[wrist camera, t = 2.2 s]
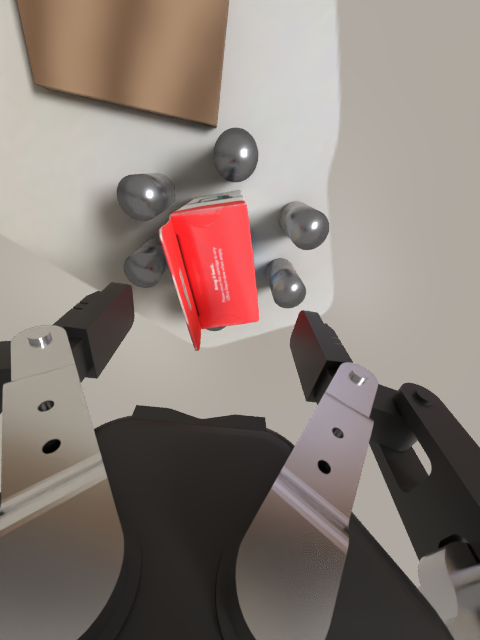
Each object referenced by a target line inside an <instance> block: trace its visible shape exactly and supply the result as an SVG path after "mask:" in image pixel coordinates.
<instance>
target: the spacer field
mask: <svg viewBox="0 0 480 640" xmlns="http://www.w3.org/2000/svg"><path fill="white" fill-rule="evenodd" d="M214 162H215V165H216V168H217V170H218V172H219V173H220V174H221V175H222V176H223V177H224V178H225V179H227V180H229V181H232V182H241V181H244V180H246V179H247V178H248V177H250V176H251V174H252V173H253V172H254V170H255V168H256V165H257V162H258V149H257V145H256V142H255V140H254V139H253V137H252V136H251V135H250V134H249V133H248V132H247V131H246V130H244V129H241V128H230V129H228V130H226V131H224V132H223V133H222V134H221V135H220V136H219V138H218V139H217V141H216V144H215V147H214ZM175 197H176V193H175V188H174V186H173V184H172V182H171V181H170V180H169V179H168V178H167V177H166V176H164V175H162V174H158V173H153V174H135V175H128V176H126V177H124V178H123V179H122V180H121V181H120V182H119V184H118V188H117V198H118V201H119V204H120V206H121V208H122V209H123V210H124V212H125V213H126V214H127V215H129V216H130V217H132V218H133V219H136V220H139V221H147V220H150V219H152V218H153V217H155V216H157V215H158V214H160V213H162V212H163V211H165V210H167V209H168V208H170V207H171V206H172V205H173V203H174V201H175ZM279 222H280V226H281V228H282V229H283V231H284V232H285V233H286V234H287V235H288V237H289V238H290V239H291V240H292V242H293V243H294V244H295V245H296V246H297V247H298V248H300V249H303V250H311V249H314V248H316V247H318V246H319V245H321V244H322V243H323V242H324V240H325V239H326V237H327V235H328V232H329V222H328V219H327V217H326V216H325V215H324V214H323V213H322V212H320V211H318V210H316V209H314V208H312V207H310V206H308V205H306V204H304V203H301V202H291V203H289V204H287V205H286V206H285V207H284V208H283V210H282V211H281V214H280V218H279ZM167 267H168V263H167V260H166V257H165V254H164V250H163V248H162V244H161V241H160V238H159V237H155V238H151V239H150V240H148V241H147V242H146V243H145V244H144V245H142V246H141V247H140V248H139V249H138V250H136V251H135V252H134V253H133V254H132V255H131V256H129V257H128V258H127V259H126V261H125V263H124V272H125V274H126V276H127V278H128V279H129V280H130V281H131V282H132V283H133V284H135V285H137V286H140V287H152V286H154V285H155V284H156V283H157V282H158V281H159V279H160V278H161V276H162V275H163V273H164V272H165V270H166V269H167ZM266 275H267V279H268V282H269V285H270V288H271V292H272V295H273V298H274V301H275V303H276V304H277V305H278V306H280V307H283V308H293V307H295V306H297V305H299V304H300V303H301V302H302V301H303V300H304V298H305V295H306V288H305V286H304V284H303V282H302V281H301V279H300V278H299V276H298V274H297V273H296V271H295V269H294V268H293V266H292V264H291V263H290V262H289V261H288V260H286V259H282V258H279V259H275V260H273V261H272V262H271V263H270V264H269V265H268V267H267V269H266ZM225 327H226V326H222V327H213V328H206V329H207V330H210V331H218V330H221V329H223V328H225Z"/></svg>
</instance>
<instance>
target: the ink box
mask: <svg viewBox="0 0 480 640" xmlns="http://www.w3.org/2000/svg"><path fill="white" fill-rule="evenodd" d="M159 238H160V241H161V244H162V248H163V250H164V254H165V257H166V260H167V263H168V267H169V270H170V273H171V276H172V280H173V282H174V286H175V289H176V292H177V295H178V298H179V302H180V305H181V308H182V311H183V314H184V317H185V320H186V324H187V327H188V330H189V333H190V336H191V339H192V342H193V345H194V348H195V350H196V351H199V348H200V338H201V329H206V328H213V327H222V326H231V325H239V324H245V323H252V322H257V321H259V311H258V299H257V289H256V278H255V268H254V259H253V249H252V242H251V234H250V225H249V218H248V211H247V205H246V203H245V201H244V198H243V195H242V192H241V190H237V191H231V192H226V193H221V194H215V195H209V196H204V197H198V198H194V199H193V200H192V201H190V202H189V203H187V204H185V205H184V206H183V207H181V208H180V209H178V210H176V211H174V212H172V213H170V215H169V221H168V222H167V223H166V224H165V225H163V226H162V227H161V228H160V229H159ZM183 288H184V292H183ZM184 293H185V296H186V298H185V296H184Z"/></svg>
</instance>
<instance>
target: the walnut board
mask: <svg viewBox="0 0 480 640" xmlns="http://www.w3.org/2000/svg"><path fill="white" fill-rule="evenodd" d="M17 3H18V7H19V12H20V17H21V21H22V26H23V31H24V36H25V40H26V45H27V50H28V54H29V59H30V64H31V68H32V73H33V78H34V82H35V84H37V85H40V86H42V87H44V88H48V89H52V90H56V91H61V92H65V93H69V94H74V95H78V96H83V97H87V98H91V99H96V100H100V101H104V102H109V103H113V104H117V105H122V106H126V107H131V108H135V109H139V110H144V111H148V112H152V113H157V114H161V115H166V116H170V117H174V118H179V119H183V120H187V121H192V122H196V123H200V124H205V125H209V126H214V127H217V120H218V110H219V99H220V89H221V79H222V68H223V58H224V47H225V37H226V27H227V16H228V6H229V0H17Z"/></svg>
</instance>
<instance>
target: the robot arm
mask: <svg viewBox="0 0 480 640" xmlns="http://www.w3.org/2000/svg"><path fill="white" fill-rule="evenodd" d="M133 322H134V305H133V293H132V287H131V285H128V284H121V283H114V282H112V283H110V284H109V285H108V286H107V287H106V288H105V289H103V290H102V291H97V292H95V293H92V294H90V295H88V296H86V297H85V298H84V299H83V300H82V301H80V303H78V304H77V305H76V306H74V307H73V309H71V310H70V311H68V312H67V313H66V314H65V315H64V316H62V317H61V318H60V319H59V320H58V321H57V322H55V323H54V324H53V325H42V326H37V327H32V328H29V329H26V330H24V331H22V332H20V333H18V334H17V335H16V336H15V337H14V338H13V339H12V340H11V341H2V342H0V414H1V412H2V473H1V474H2V475H1V477H2V478H1V481H2V482H1V493H0V640H480V447H479V446H478V445H477V444H476V443H475V441H474V440H473V439H472V438H471V437H470V436H469V434H468V433H467V432H466V430H465V429H464V428H463V427H462V426H461V424H460V423H459V422H458V421H457V419H456V418H455V417H454V416H453V415H452V413H451V412H450V411H449V410H448V409H447V407H446V406H445V405H444V404H443V402H442V401H441V400H440V399H439V398H438V397H437V396H436V395H435V394H433V393H432V392H431V391H429V390H427V389H426V388H424V387H422V386H419V385H416V384H413V383H404V384H403V385H402V386H401V387H400V389H399V390H398V391H397V390H394V389H391V388H388V387H385V386H382V385H379V384H378V381H377V379H376V377H375V376H374V375H373V374H372V373H371V372H370V371H369V370H367V369H366V368H364V367H362V366H360V365H358V364H355V363H353V361H352V360H351V358H350V356H349V355H348V353H347V352H346V350H345V348H344V346H343V345H342V343H341V341H340V340H339V339H338V336H337V335H336V333H335V331H334V330H333V329H331V328H330V327H329V326H328V325H327V324H324V323H323V321H322V320H321V318H320V316H319V314H318V313H317V312H310V311H303V310H302V311H301V312H300V313H299V315H298V318H297V321H296V324H295V326H294V330H293V332H292V335H291V339H290V348H291V351H292V355H293V358H294V362H295V365H296V369H297V372H298V375H299V378H300V382H301V385H302V389H303V392H304V395H305V398H306V401H309V402H317V405H318V406H317V407H316V409H315V411H314V413H313V415H312V417H311V418H310V420H309V422H308V424H307V426H306V427H305V429H304V431H303V433H302V434H301V436H300V438H299V440H298V441H297V443H296V445H295V446H294V445H293V444H292V443H291V442H290V441H288V440H287V439H286V438H285V437H283V436H281V435H280V434H278V433H277V432H274V431H272V430H270V429H267V428H266V422H265V418H264V417H254V416H243V415H229V416H222V417H215V418H208V419H199V418H196V417H193V416H190V415H187V414H184V413H181V412H178V411H176V410H173V409H169V408H160V407H150V406H139V405H136V408H135V410H134V412H133V415H132V416H127V417H123V418H119V419H116V420H113V421H110V422H108V423H105V424H103V425H101V426H99V427H97V428H95V429H93V425H92V421H91V418H90V414H89V411H88V407H87V404H86V400H85V397H84V393H83V390H82V386H81V382H82V381H83V379H84V378H85V377H88V378H98V377H99V375H100V374H101V372H102V370H103V369H104V368H105V366H106V365H107V363H108V362H109V360H110V359H111V357H112V356H113V354H114V353H115V351H116V350H117V348H118V347H119V345H120V344H121V342H122V341H123V339H124V338H125V336H126V335H127V333H128V331H129V330H130V329H131V327H132V325H133ZM417 440H418V441H419V443H420V444H421V446H422V447H423V449H424V451H425V452H426V454H427V456H428V457H429V459H430V461H431V466H432V471H431V474H430V476H428V474H427V472H426V471H425V469H424V467H423V465H422V464H421V462H420V460H419V458H418V456H417V455H416V453H415V451H414V450H413V448H412V445H413V444H414V443H415V442H416V441H417ZM368 444H370V446H371V449H372V451H373V454H374V456H375V458H376V461H377V463H378V465H379V468H380V470H381V472H382V475H383V477H384V479H385V482H386V484H387V486H388V489H389V491H390V493H391V496H392V498H393V500H394V503H395V505H396V507H397V510H398V512H399V514H400V517H401V519H402V521H403V524H404V526H405V529H406V531H407V533H408V536H409V538H410V540H411V543H412V545H413V547H414V550H415V552H416V554H417V557H418V559H419V561H420V562H419V565H418V576H419V581H420V586H419V587H418V588H416V586H415V585H414V584H413V583H412V581H411V580H410V579H409V578H408V577H407V576H406V575H405V573H404V572H403V571H402V570H401V569H400V567H399V566H398V565H397V564H396V563H395V562H394V561H393V559H392V558H391V557H390V556H389V555H388V554H387V552H386V551H385V550H384V549H383V548H382V547H381V545H380V544H379V543H378V542H377V541H376V540H375V538H374V537H373V536H372V535H371V534H370V533H369V531H368V530H367V529H366V528H365V527H364V526H363V525H362V523H361V522H360V521H359V520H358V519H357V517H356V516H355V515H354V514H353V513H352V508H353V503H354V500H355V496H356V491H357V488H358V484H359V480H360V476H361V472H362V468H363V464H364V460H365V456H366V452H367V448H368Z"/></svg>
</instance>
